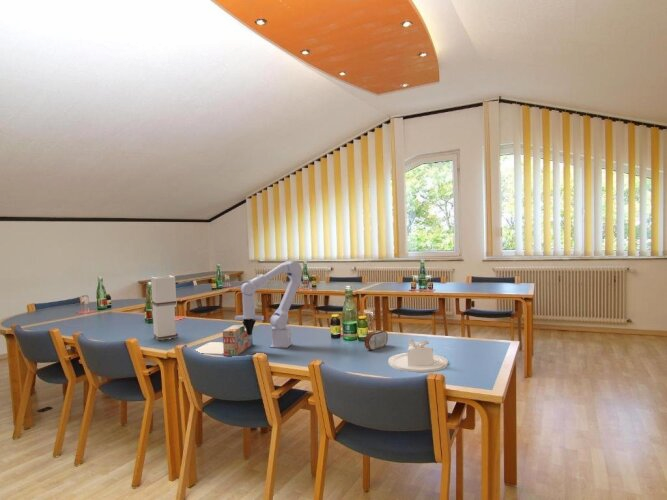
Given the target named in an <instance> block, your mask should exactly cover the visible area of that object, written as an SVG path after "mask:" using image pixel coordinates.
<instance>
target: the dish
mask: <svg viewBox="0 0 667 500" xmlns="http://www.w3.org/2000/svg"><path fill="white" fill-rule="evenodd" d="M407 343H408V348H407V352H403V353H397V354H394V355H391V356H390V357H389V358H388V365H389V366H390V367H391V368H393V369H396V370H399V371H404V372H411V373H413V372H414V373H431V372H436V371H440V370H443V369H444V368H447V366H448V365H449V361H448V359H447V358H445V357H443V356H442V355H438V354H435V353H434V348H433V347H430V346H428V345H429V344H430V341H429V340H422V341H414V339H410V338H409V339H408V340H407Z"/></svg>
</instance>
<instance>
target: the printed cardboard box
mask: <svg viewBox="0 0 667 500" xmlns="http://www.w3.org/2000/svg"><path fill="white" fill-rule="evenodd" d="M253 341H254V340H253V333H252V334H251V335H248V334H247V330H246V328H245V326H244V324H232V325H231V326H229V327H227V328H226V329H224V330H222V342H223V348H224V354H223V356H224V357H228V356H229V357H236V356H238V355H239V354H241V353H242V352H244V351H245V350H246V349H248V348H249V347H251V346H253V344H254V343H253ZM235 355H236V356H235Z"/></svg>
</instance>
